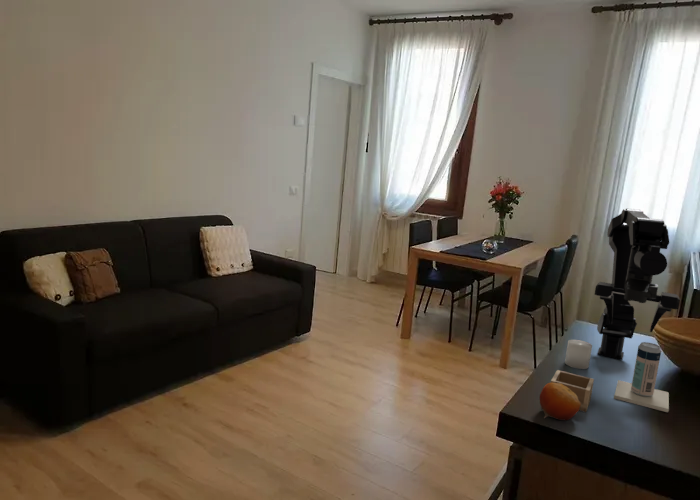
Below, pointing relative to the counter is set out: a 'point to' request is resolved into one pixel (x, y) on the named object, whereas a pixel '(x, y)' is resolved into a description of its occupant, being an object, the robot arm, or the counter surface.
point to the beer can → (646, 369)
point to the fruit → (559, 401)
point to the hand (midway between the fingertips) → (630, 327)
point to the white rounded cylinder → (578, 354)
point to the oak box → (576, 386)
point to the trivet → (642, 397)
